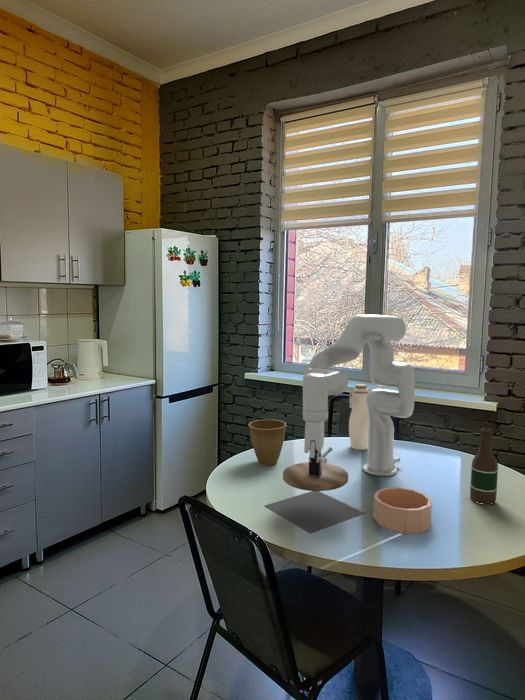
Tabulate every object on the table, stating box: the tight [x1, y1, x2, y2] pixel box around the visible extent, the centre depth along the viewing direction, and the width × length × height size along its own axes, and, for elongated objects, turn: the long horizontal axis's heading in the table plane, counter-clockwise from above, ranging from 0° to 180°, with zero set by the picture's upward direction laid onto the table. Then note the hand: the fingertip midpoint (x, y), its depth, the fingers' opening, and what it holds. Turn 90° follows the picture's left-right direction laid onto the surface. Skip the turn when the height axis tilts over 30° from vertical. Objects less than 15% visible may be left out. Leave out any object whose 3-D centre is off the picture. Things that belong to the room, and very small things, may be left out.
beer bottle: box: [469, 427, 499, 504], centre depth 156 cm, size 8×8×24 cm
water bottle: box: [348, 383, 371, 451], centre depth 211 cm, size 10×9×28 cm
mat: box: [264, 491, 366, 535], centre depth 148 cm, size 22×22×1 cm
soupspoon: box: [321, 446, 333, 463], centre depth 199 cm, size 22×3×7 cm
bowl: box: [372, 487, 433, 535], centre depth 142 cm, size 16×16×7 cm
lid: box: [282, 456, 349, 492], centre depth 148 cm, size 20×20×6 cm
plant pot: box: [248, 419, 287, 467], centre depth 192 cm, size 15×15×16 cm
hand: (315, 471), depth 148 cm, fingers closed on lid, 4 cm apart
